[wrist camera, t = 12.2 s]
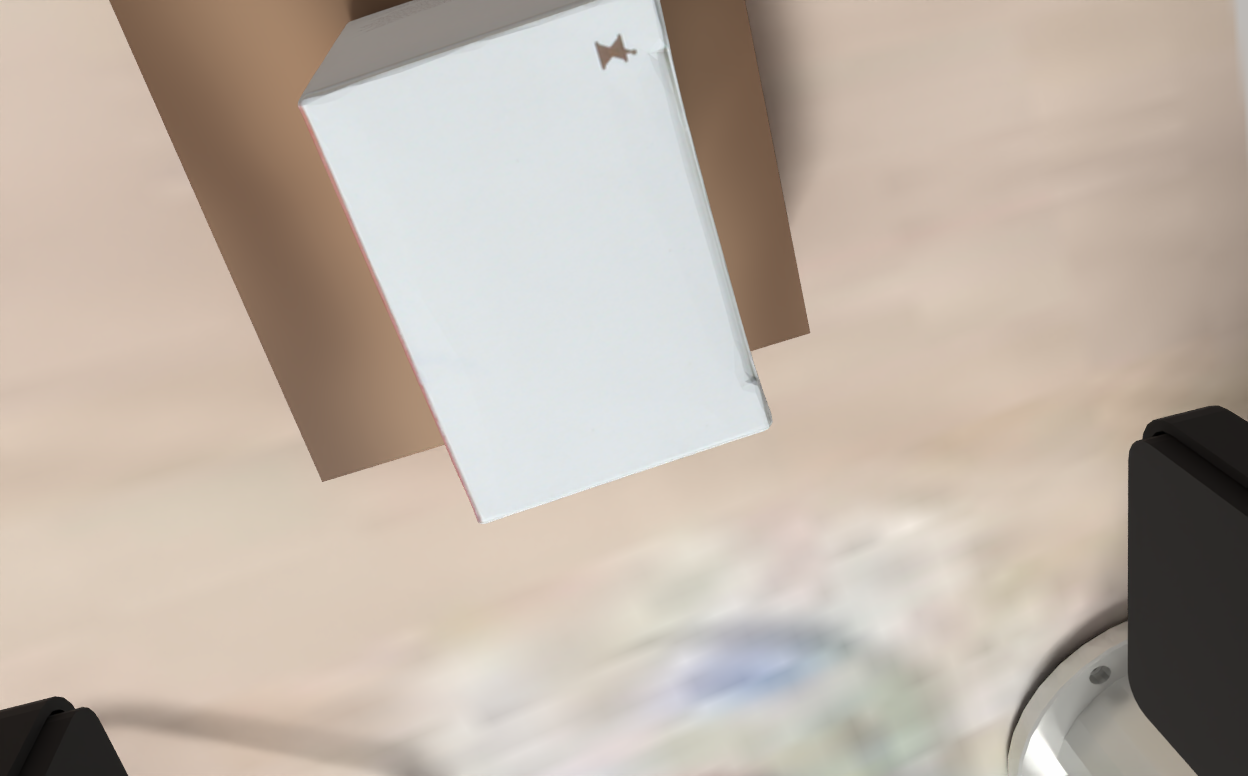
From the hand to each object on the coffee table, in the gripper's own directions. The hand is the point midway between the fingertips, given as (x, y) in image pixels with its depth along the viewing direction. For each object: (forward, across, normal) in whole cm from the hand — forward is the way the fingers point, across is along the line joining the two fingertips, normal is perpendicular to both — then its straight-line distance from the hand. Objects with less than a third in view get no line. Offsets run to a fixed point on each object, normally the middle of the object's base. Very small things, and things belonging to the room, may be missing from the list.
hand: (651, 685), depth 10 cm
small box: (+19, 0, -1) cm, 19 cm away
